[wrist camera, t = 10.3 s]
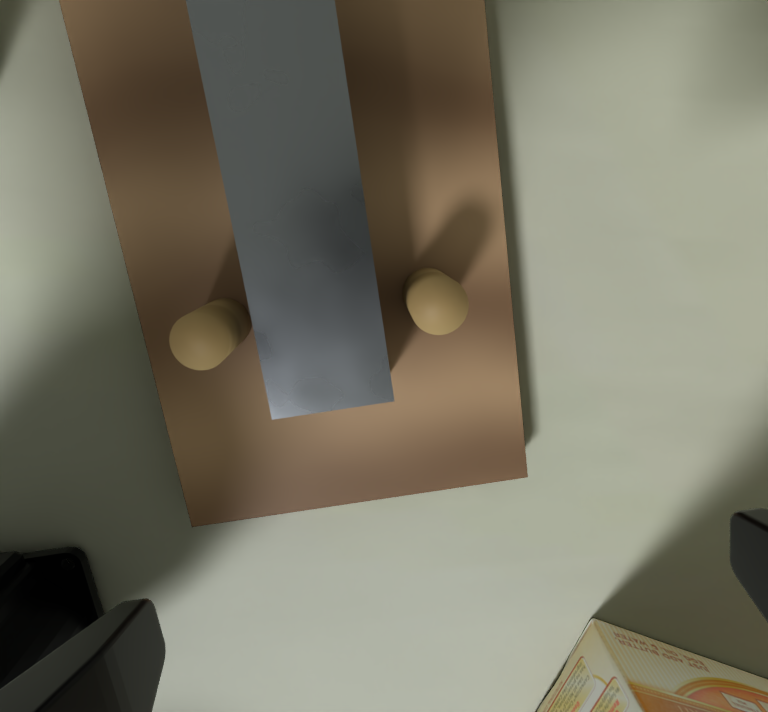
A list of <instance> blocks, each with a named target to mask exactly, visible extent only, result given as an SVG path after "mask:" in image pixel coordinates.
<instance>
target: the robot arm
mask: <svg viewBox="0 0 768 712" xmlns="http://www.w3.org/2000/svg"><path fill="white" fill-rule="evenodd" d="M67 559H71V560H73V562H74V563H75V564H71V563H69V562H68V561H67ZM730 562H731V566H732V569H733V572H734V574H735V575H736V577H737V579H738V580H739V582H740V583H741V584H742V586H743V587H744V589H745V590H746V592H747V593H748V595H749V596H750V598H751V599H752V600H753V602H754V603H755V605H756V606H757V608H758V609H759V611H760V612H761V613H762V615H763V616H764V618H765V619H766V621H767V622H768V510H767V509H763V508H755V509H748V510H741V511H736V512H735V513H734V514H732V516H731V519H730ZM164 660H165V642H164V638H163V634H162V631H161V627H160V624H159V620H158V616H157V613H156V609H155V606H154V604H153V602H152V601H151V600H149V599H147V598H145V599H138V600H131V601H125V602H122V603H120V604H119V605H117V606H116V607H114V608H113V609H112V610H110V611H109V612H107V613H106V614H105V615H104V612H103V609H102V606H101V603H100V599H99V596H98V593H97V590H96V586H95V583H94V580H93V577H92V573H91V570H90V567H89V563H88V560H87V557H86V555H85V553H84V552H83V551H82V550H81V549H79V548H76V547H65V548H58V549H52V550H45V551H38V552H32V553H25V554H22V553H19V552H15V551H12V552H6V553H0V712H152V709H153V705H154V701H155V697H156V693H157V689H158V685H159V681H160V677H161V673H162V669H163V665H164Z"/></svg>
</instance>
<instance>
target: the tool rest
mask: <svg viewBox="0 0 768 712" xmlns="http://www.w3.org/2000/svg"><path fill="white" fill-rule="evenodd" d="M59 2H60V6H61V10H62V14H63V18H64V22H65V26H66V30H67V33H68V37H69V41H70V45H71V49H72V53H73V57H74V61H75V65H76V69H77V73H78V77H79V81H80V85H81V89H82V93H83V97H84V101H85V105H86V109H87V113H88V117H89V121H90V125H91V129H92V133H93V137H94V141H95V145H96V149H97V153H98V157H99V160H100V164H101V168H102V172H103V176H104V180H105V184H106V188H107V192H108V196H109V200H110V204H111V208H112V212H113V216H114V220H115V224H116V228H117V232H118V236H119V240H120V244H121V248H122V252H123V256H124V260H125V264H126V268H127V272H128V276H129V280H130V283H131V287H132V291H133V295H134V299H135V303H136V307H137V311H138V315H139V319H140V323H141V327H142V331H143V335H144V339H145V343H146V347H147V351H148V355H149V359H150V363H151V367H152V371H153V375H154V379H155V383H156V387H157V391H158V395H159V399H160V403H161V406H162V410H163V414H164V418H165V422H166V426H167V430H168V434H169V438H170V442H171V446H172V450H173V454H174V458H175V462H176V466H177V470H178V474H179V478H180V482H181V486H182V490H183V494H184V498H185V502H186V506H187V510H188V514H189V518H190V522H191V526H192V527H196V526H202V525H209V524H216V523H223V522H229V521H236V520H243V519H250V518H256V517H263V516H270V515H276V514H283V513H290V512H297V511H303V510H310V509H317V508H324V507H330V506H337V505H344V504H350V503H357V502H364V501H371V500H377V499H384V498H391V497H398V496H404V495H411V494H418V493H424V492H431V491H438V490H445V489H451V488H458V487H465V486H472V485H478V484H485V483H492V482H498V481H505V480H512V479H519V478H525V477H528V475H527V464H526V453H525V442H524V431H523V420H522V409H521V398H520V387H519V376H518V365H517V354H516V343H515V332H514V321H513V310H512V299H511V288H510V277H509V266H508V255H507V244H506V233H505V222H504V211H503V200H502V189H501V178H500V167H499V156H498V145H497V134H496V123H495V112H494V101H493V90H492V79H491V68H490V57H489V46H488V35H487V24H486V13H485V2H484V0H335V6H336V13H337V19H338V26H339V33H340V39H341V46H342V53H343V59H344V66H345V73H346V80H347V86H348V93H349V100H350V106H351V113H352V120H353V126H354V133H355V140H356V146H357V153H358V160H359V167H360V173H361V180H362V187H363V193H364V200H365V207H366V213H367V220H368V227H369V233H370V240H371V247H372V254H373V260H374V267H375V274H376V280H377V287H378V294H379V300H380V307H381V314H382V320H383V327H384V334H385V341H386V347H387V354H388V361H389V367H390V374H391V381H392V387H393V394H394V401H393V402H387V403H380V404H374V405H367V406H360V407H354V408H347V409H340V410H334V411H327V412H320V413H314V414H307V415H301V416H294V417H287V418H281V419H274V420H272V417H271V413H270V408H269V403H268V398H267V393H266V388H265V383H264V379H263V374H262V369H261V364H260V359H259V354H258V349H257V345H256V340H255V335H254V330H253V325H252V320H251V315H250V311H249V306H248V301H247V296H246V291H245V286H244V281H243V277H242V272H241V267H240V262H239V257H238V252H237V247H236V243H235V238H234V233H233V228H232V223H231V218H230V213H229V209H228V204H227V199H226V194H225V189H224V184H223V179H222V175H221V170H220V165H219V160H218V155H217V150H216V146H215V141H214V136H213V131H212V126H211V121H210V116H209V112H208V107H207V102H206V97H205V92H204V87H203V82H202V78H201V73H200V68H199V63H198V58H197V53H196V48H195V44H194V39H193V34H192V29H191V24H190V19H189V14H188V10H187V5H186V0H59Z"/></svg>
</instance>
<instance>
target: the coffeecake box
mask: <svg viewBox="0 0 768 712" xmlns="http://www.w3.org/2000/svg"><path fill="white" fill-rule="evenodd" d="M537 712H768V679H765V678H762V677H759V676H756V675H753V674H751V673H748V672H745V671H742V670H739V669H737V668H734V667H731V666H728V665H725V664H722V663H720V662H717V661H714V660H711V659H708V658H705V657H702V656H699V655H697V654H694V653H691V652H688V651H685V650H682V649H679V648H677V647H674V646H671V645H668V644H665V643H662V642H660V641H657V640H654V639H651V638H648V637H646V636H643V635H640V634H637V633H634V632H631V631H629V630H626V629H623V628H620V627H617V626H615V625H612V624H609V623H606V622H603V621H600V620H598V619H595V618H592V619H591V620H590V622H589V623H588V625H587V627H586V628H585V630H584V631H583V633H582V635H581V637H580V638H579V640H578V642H577V644H576V645H575V647H574V649H573V650H572V652H571V654H570V656H569V658H568V660H567V662H566V665H565V667H564V669H563V671H562V673H561V675H560V677H559V678H558V680H557V682H556V683H555V685H554V686H553V688H552V689H551V691H550V692H549V694H548V695H547V696H546V698H545V699H544V701H543V702H542V704H541V705H540V707H539V709H538V710H537Z"/></svg>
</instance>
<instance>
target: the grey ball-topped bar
mask: <svg viewBox="0 0 768 712" xmlns="http://www.w3.org/2000/svg"><path fill="white" fill-rule="evenodd" d="M186 5H187V10H188V14H189V19H190V24H191V29H192V34H193V39H194V44H195V48H196V53H197V58H198V63H199V68H200V73H201V78H202V82H203V87H204V92H205V97H206V102H207V107H208V112H209V116H210V121H211V126H212V131H213V136H214V141H215V146H216V150H217V155H218V160H219V165H220V170H221V175H222V179H223V184H224V189H225V194H226V199H227V204H228V209H229V213H230V218H231V223H232V228H233V233H234V238H235V243H236V247H237V252H238V257H239V262H240V267H241V272H242V277H243V281H244V286H245V291H246V296H247V301H248V306H249V311H250V315H251V320H252V325H253V330H254V335H255V340H256V345H257V349H258V354H259V359H260V364H261V369H262V374H263V379H264V383H265V388H266V393H267V398H268V403H269V408H270V413H271V417H272V420H274V419H281V418H287V417H294V416H301V415H307V414H314V413H320V412H327V411H334V410H340V409H347V408H354V407H360V406H367V405H374V404H380V403H387V402H393V401H394V394H393V387H392V381H391V374H390V367H389V361H388V354H387V347H386V341H385V334H384V327H383V320H382V314H381V307H380V300H379V294H378V287H377V280H376V274H375V267H374V260H373V254H372V247H371V240H370V233H369V227H368V220H367V213H366V207H365V200H364V193H363V187H362V180H361V173H360V167H359V160H358V153H357V146H356V140H355V133H354V126H353V120H352V113H351V106H350V100H349V93H348V86H347V80H346V73H345V66H344V59H343V53H342V46H341V39H340V33H339V26H338V19H337V13H336V6H335V0H186Z"/></svg>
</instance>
